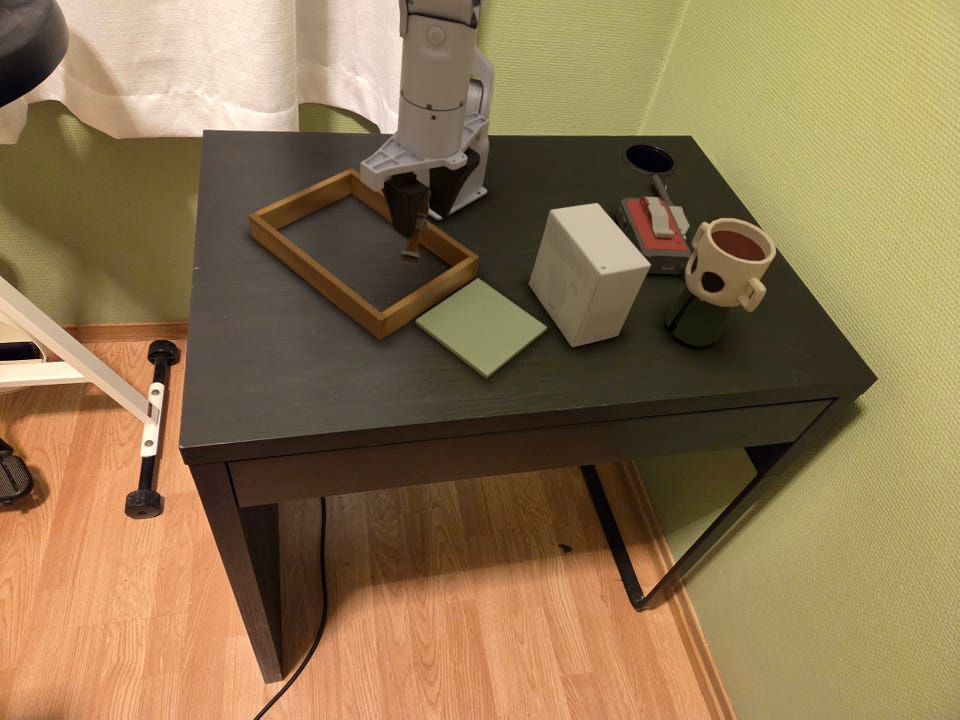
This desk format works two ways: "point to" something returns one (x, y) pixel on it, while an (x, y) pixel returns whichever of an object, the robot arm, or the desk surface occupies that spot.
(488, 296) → the mat
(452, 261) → the wooden frame
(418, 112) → the robot arm
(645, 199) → the walkie-talkie
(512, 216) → the desk surface
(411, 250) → the wooden post with brackets
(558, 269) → the cosmetics box
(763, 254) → the character mug
